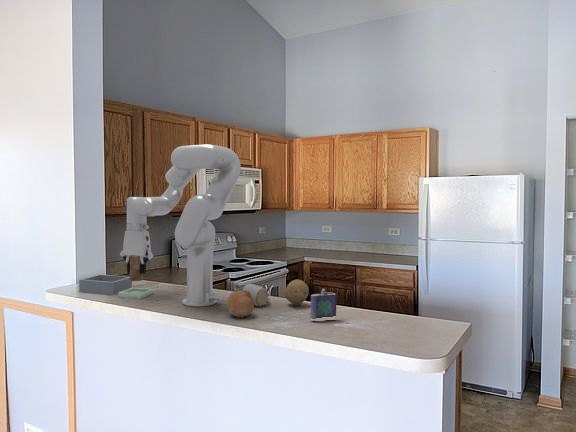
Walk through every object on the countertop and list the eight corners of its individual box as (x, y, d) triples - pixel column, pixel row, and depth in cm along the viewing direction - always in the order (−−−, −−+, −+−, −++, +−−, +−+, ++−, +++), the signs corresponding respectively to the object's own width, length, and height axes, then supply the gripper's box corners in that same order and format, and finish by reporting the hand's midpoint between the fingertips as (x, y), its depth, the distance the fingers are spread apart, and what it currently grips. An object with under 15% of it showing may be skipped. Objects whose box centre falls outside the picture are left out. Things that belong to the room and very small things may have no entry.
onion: (251, 324, 157) (264, 299, 157) (234, 322, 150) (248, 296, 149) (233, 309, 163) (246, 285, 162) (216, 307, 155) (230, 282, 155)
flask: (311, 322, 150) (312, 290, 150) (308, 320, 153) (309, 288, 153) (337, 320, 153) (338, 289, 153) (333, 318, 156) (334, 287, 156)
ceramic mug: (256, 308, 166) (257, 287, 166) (240, 305, 171) (240, 284, 171) (274, 304, 175) (275, 284, 175) (258, 300, 180) (259, 281, 179)
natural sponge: (309, 309, 167) (309, 282, 167) (284, 308, 167) (285, 281, 167) (307, 303, 176) (308, 277, 176) (284, 302, 176) (285, 277, 176)
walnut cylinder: (145, 279, 185) (145, 254, 184) (138, 281, 180) (138, 256, 179) (134, 278, 186) (134, 253, 185) (127, 280, 181) (127, 255, 181)
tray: (154, 293, 187) (154, 289, 187) (140, 299, 177) (140, 294, 177) (132, 291, 189) (132, 287, 189) (117, 297, 180) (118, 292, 180)
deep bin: (131, 288, 196) (131, 276, 195) (113, 294, 183) (113, 282, 183) (99, 285, 200) (99, 274, 199) (79, 291, 187) (79, 279, 187)
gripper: (160, 228, 183) (160, 273, 184) (123, 226, 188) (123, 270, 189) (150, 229, 176) (150, 276, 177) (112, 227, 180) (112, 273, 181)
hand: (136, 272), depth 183 cm, fingers closed on walnut cylinder, 5 cm apart
